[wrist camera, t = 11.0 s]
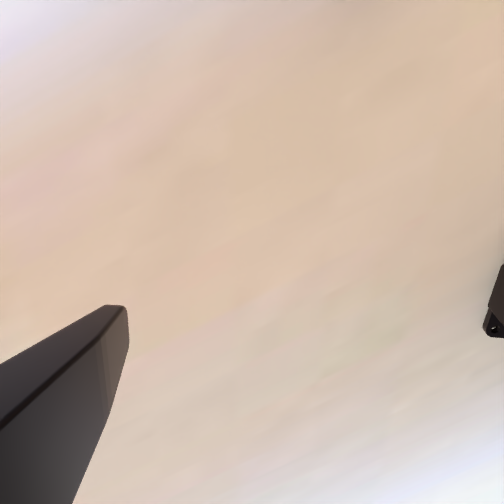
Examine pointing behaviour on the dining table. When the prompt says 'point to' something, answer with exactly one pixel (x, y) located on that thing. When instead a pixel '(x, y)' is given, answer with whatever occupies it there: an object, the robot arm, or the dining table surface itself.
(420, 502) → the dining table surface
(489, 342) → the dining table surface
